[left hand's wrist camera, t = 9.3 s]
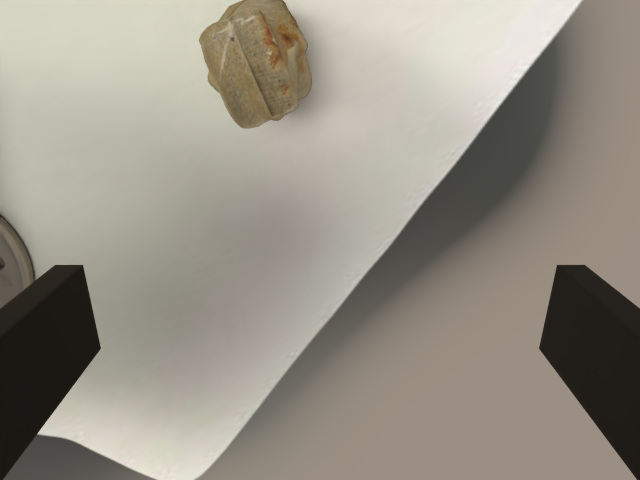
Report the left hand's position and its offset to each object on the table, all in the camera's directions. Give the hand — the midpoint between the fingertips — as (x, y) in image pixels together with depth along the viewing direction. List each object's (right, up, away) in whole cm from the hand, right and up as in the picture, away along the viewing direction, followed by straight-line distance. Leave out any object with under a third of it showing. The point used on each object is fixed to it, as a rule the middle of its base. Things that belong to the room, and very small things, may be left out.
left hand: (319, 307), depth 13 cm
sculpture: (-4, +16, +22) cm, 27 cm away
